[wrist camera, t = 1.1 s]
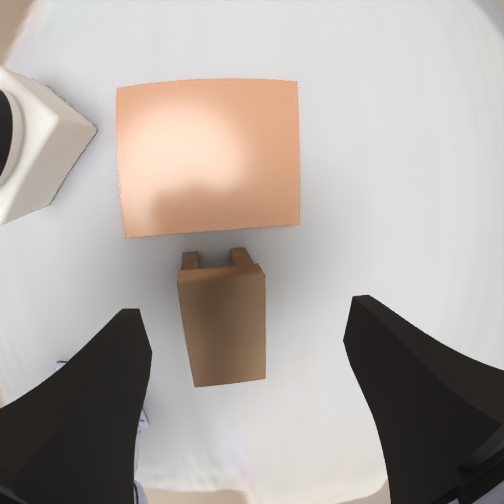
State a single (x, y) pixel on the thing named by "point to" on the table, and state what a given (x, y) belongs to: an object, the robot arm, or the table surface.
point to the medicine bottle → (35, 144)
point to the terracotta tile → (208, 155)
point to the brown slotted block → (224, 319)
